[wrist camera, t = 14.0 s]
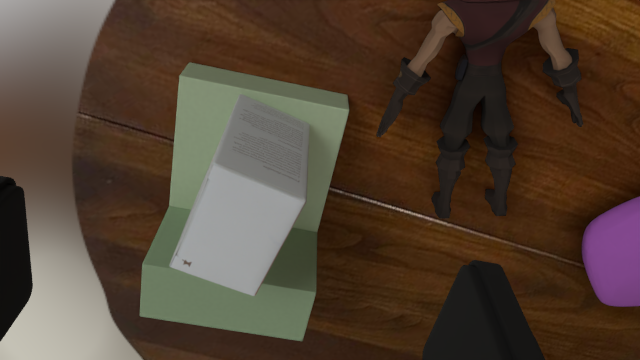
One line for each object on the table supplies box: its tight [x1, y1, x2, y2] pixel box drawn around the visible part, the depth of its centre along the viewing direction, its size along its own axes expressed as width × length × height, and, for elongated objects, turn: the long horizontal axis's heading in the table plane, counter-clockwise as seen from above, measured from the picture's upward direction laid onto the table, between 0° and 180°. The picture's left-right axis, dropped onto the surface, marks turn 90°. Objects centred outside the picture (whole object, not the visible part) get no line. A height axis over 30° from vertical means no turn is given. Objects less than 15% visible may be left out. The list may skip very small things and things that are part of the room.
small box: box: [169, 94, 310, 296], centre depth 34 cm, size 8×6×10 cm
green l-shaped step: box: [140, 62, 349, 341], centre depth 38 cm, size 16×12×10 cm
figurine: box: [376, 0, 583, 218], centre depth 37 cm, size 15×4×20 cm
